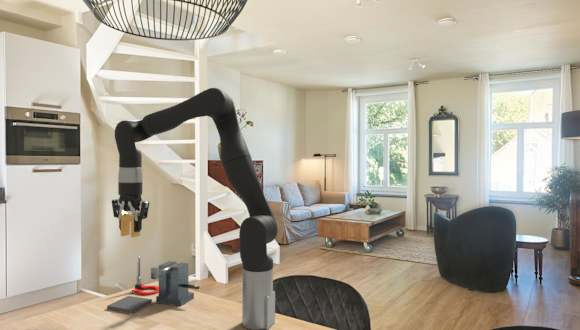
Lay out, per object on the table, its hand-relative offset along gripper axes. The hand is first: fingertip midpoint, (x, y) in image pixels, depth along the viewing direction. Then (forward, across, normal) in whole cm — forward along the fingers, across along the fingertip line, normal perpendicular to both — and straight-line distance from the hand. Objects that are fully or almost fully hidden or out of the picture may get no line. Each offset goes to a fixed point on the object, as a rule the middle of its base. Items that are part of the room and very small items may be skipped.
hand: (130, 230), depth 137 cm
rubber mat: (+26, 0, 0) cm, 26 cm away
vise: (+25, -14, -6) cm, 29 cm away
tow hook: (+26, +4, -14) cm, 30 cm away
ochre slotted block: (+2, 0, 0) cm, 2 cm away
